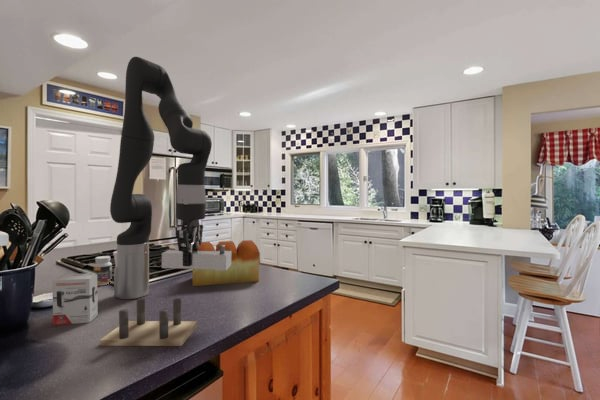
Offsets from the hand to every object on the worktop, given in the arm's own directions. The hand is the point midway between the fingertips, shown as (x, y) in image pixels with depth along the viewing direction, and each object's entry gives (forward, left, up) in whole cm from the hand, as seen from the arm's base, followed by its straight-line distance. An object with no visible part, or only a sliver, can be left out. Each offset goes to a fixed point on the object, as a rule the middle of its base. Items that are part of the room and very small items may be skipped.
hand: (190, 263), depth 83 cm
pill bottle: (-43, +28, -14) cm, 53 cm away
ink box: (-29, -4, -14) cm, 32 cm away
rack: (-5, -12, -14) cm, 19 cm away
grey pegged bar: (+2, 0, -1) cm, 2 cm away
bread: (+1, +35, -15) cm, 38 cm away
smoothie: (-43, +40, -14) cm, 60 cm away
